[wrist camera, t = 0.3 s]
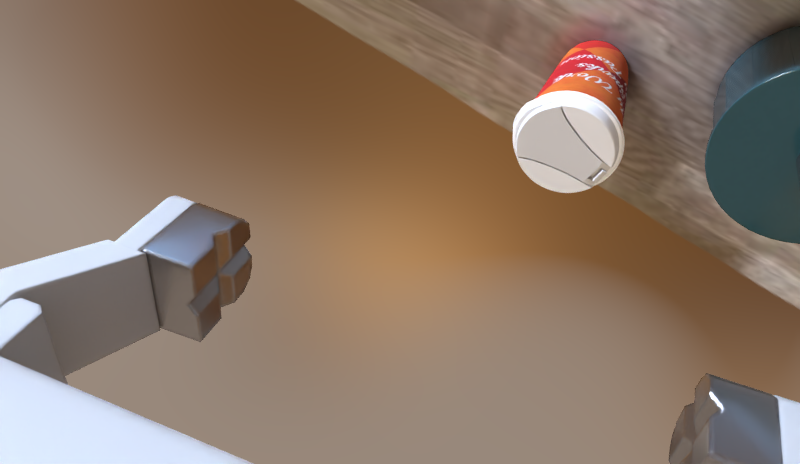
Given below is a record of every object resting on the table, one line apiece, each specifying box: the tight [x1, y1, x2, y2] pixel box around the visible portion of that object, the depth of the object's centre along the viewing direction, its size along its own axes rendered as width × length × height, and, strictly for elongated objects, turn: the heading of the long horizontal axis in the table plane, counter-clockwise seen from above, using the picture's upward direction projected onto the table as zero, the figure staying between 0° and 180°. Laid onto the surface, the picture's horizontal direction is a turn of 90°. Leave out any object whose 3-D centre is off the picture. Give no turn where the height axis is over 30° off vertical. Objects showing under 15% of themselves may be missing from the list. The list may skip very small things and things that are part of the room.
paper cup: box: [512, 40, 628, 193], centre depth 51 cm, size 8×8×14 cm
